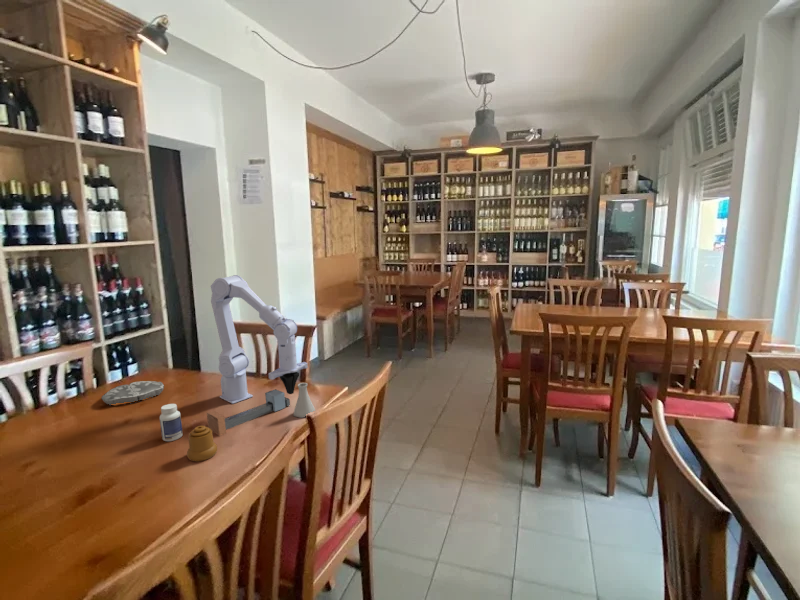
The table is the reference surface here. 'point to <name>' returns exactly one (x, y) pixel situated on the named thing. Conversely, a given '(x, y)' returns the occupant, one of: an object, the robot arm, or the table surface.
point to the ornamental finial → (201, 444)
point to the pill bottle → (170, 423)
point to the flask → (303, 402)
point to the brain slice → (133, 392)
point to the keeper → (276, 399)
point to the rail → (237, 417)
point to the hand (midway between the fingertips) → (290, 393)
